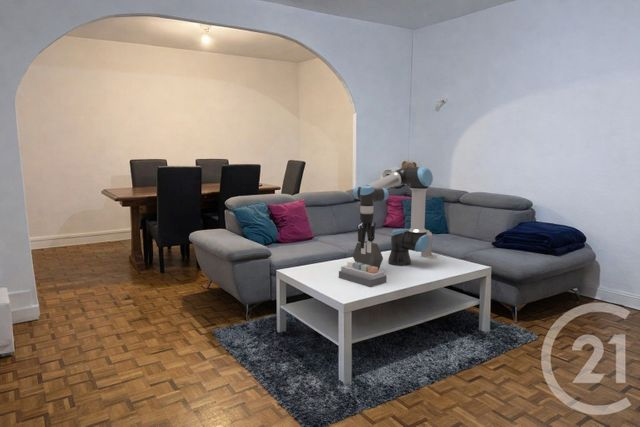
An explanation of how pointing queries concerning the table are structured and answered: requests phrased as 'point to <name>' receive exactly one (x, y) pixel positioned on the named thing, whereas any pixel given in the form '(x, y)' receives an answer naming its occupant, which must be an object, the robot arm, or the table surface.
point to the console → (362, 276)
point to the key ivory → (351, 264)
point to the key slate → (358, 265)
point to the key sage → (365, 267)
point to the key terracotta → (373, 269)
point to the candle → (428, 251)
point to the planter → (368, 255)
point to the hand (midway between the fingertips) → (366, 253)
